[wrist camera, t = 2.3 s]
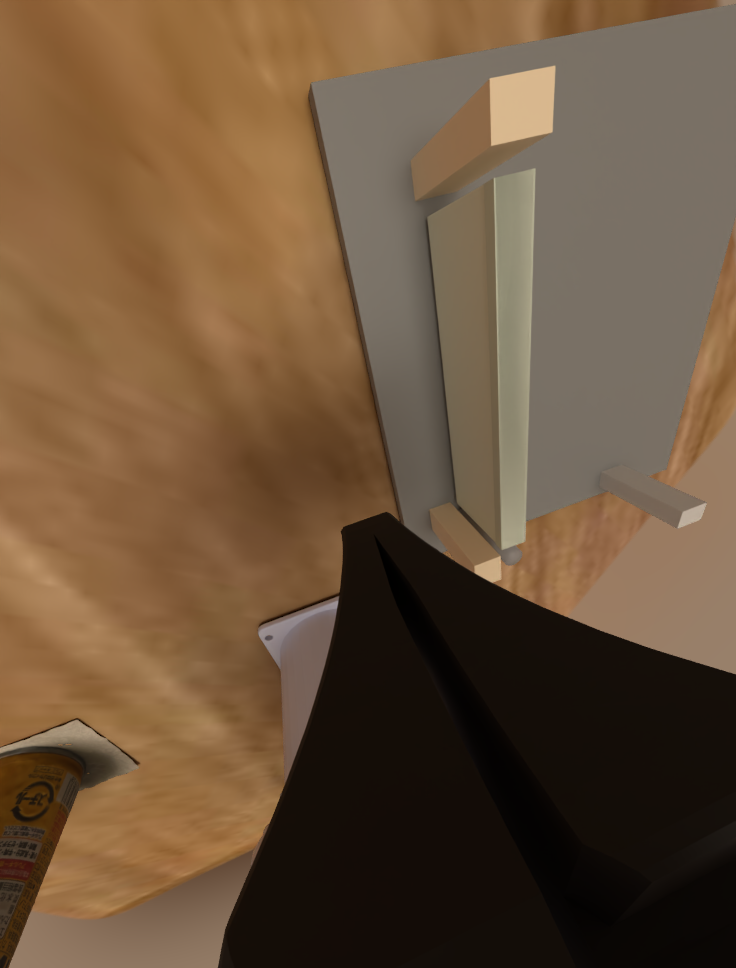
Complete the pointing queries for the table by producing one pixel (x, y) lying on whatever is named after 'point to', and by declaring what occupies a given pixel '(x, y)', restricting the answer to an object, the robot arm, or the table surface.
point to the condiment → (42, 811)
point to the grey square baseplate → (545, 248)
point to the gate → (488, 350)
